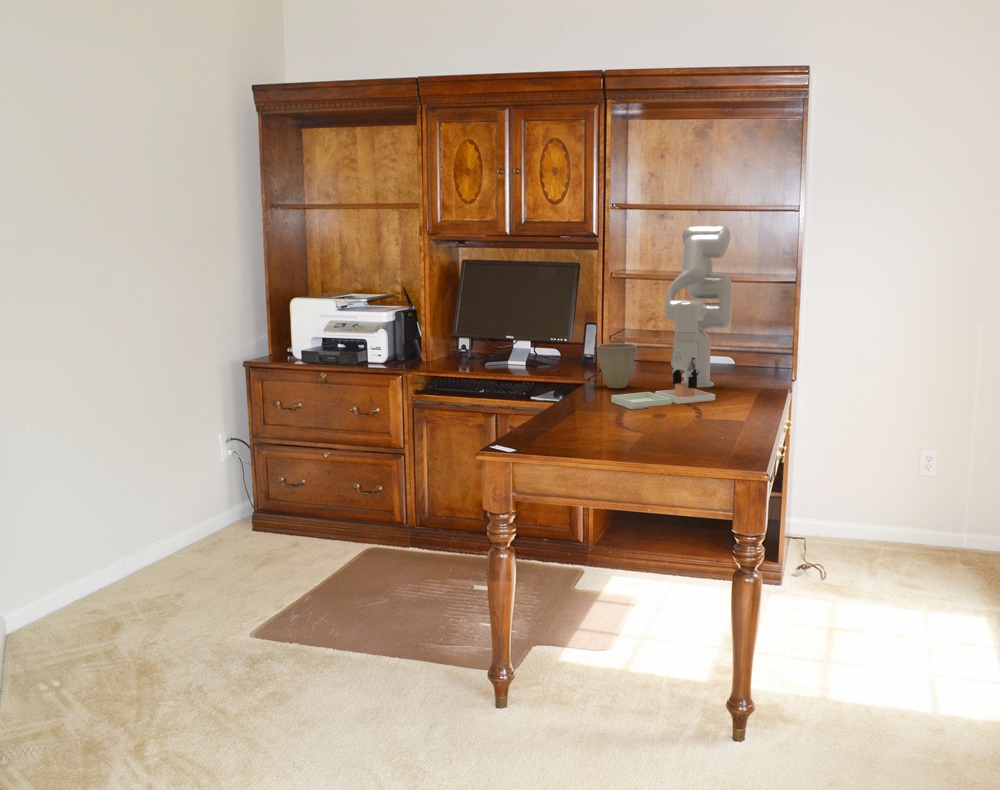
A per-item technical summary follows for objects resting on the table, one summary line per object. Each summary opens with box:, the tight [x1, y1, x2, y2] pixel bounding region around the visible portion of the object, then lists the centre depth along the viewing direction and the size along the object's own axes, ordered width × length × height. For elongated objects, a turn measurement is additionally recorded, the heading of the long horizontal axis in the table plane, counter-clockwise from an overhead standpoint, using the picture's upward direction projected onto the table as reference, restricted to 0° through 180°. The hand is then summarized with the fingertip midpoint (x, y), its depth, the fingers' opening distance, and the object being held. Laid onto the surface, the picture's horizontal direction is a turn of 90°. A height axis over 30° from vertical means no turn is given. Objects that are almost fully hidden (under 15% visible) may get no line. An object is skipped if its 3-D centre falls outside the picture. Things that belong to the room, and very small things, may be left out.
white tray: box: [654, 388, 716, 405], centre depth 333 cm, size 15×15×2 cm
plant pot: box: [596, 342, 638, 389], centre depth 361 cm, size 15×15×16 cm
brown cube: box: [674, 383, 696, 398], centre depth 333 cm, size 5×5×5 cm
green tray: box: [610, 391, 673, 410], centre depth 327 cm, size 15×15×2 cm
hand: (684, 386), depth 332 cm, fingers open, 9 cm apart
